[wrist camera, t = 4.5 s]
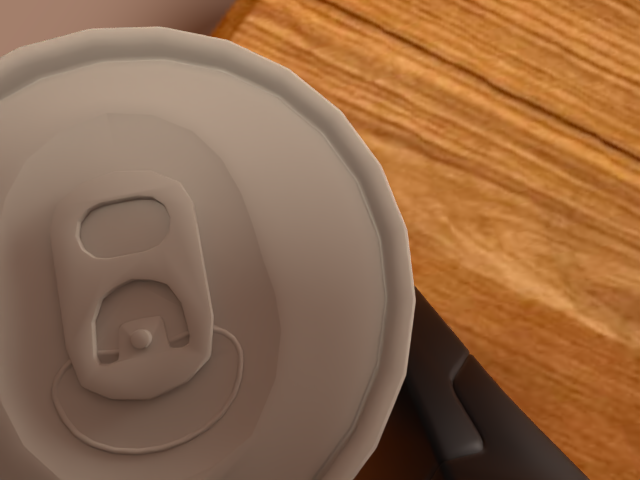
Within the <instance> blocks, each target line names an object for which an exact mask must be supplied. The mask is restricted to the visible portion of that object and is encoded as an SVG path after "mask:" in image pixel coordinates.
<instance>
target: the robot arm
mask: <svg viewBox="0 0 640 480" xmlns="http://www.w3.org/2000/svg"><path fill="white" fill-rule="evenodd" d="M414 290H415V298H416V303H415V311H414V318H413V326H412V334H411V342H410V349H409V357H408V365H407V373H406V377H405V379H404V381H403V384H402V386H401V389H400V391H399V394H398V396H397V399H396V401H395V404H394V406H393V409H392V411H391V413H390V416H389V418H388V421H387V423H386V426H385V428H384V431H383V433H382V436H381V438H380V441H379V443H378V445H377V448H376V449H375V451H374V452H373V453H372V455H371V456H370V457H369V459H368V460H367V461H366V463H365V464H364V465H363V467H362V468H361V470H360V471H359V472H358V474H357V475H356V476H355V478H354V479H353V480H590V479H589V478H588V477H587V476H586V475H585V474H584V473H583V472H582V471H581V470H580V469H579V468H578V467H577V466H576V465H575V464H574V463H573V462H572V461H571V460H570V459H569V458H568V457H567V456H566V455H565V454H564V453H563V452H562V451H561V450H560V449H559V448H558V447H557V446H556V445H555V444H554V443H553V442H552V441H551V440H550V439H549V438H548V437H547V436H546V435H545V434H544V433H543V432H542V431H541V430H540V429H539V428H538V427H537V426H536V425H535V424H534V423H533V422H532V421H531V420H530V419H529V418H528V417H527V416H526V414H525V413H524V412H523V411H522V410H521V409H520V408H519V407H518V406H517V405H516V404H515V403H514V402H513V401H512V400H511V399H510V398H509V397H508V396H507V394H506V393H505V392H504V391H503V390H502V389H501V388H500V387H499V386H498V384H497V383H496V382H495V381H494V380H493V379H492V377H491V376H490V375H489V374H488V373H487V372H486V371H485V369H484V368H483V367H482V366H481V365H480V363H479V362H478V361H477V360H476V359H475V357H474V356H473V355H471V354H469V350H468V349H467V348H466V347H465V346H464V344H463V343H462V342H461V341H460V340H459V338H458V337H457V336H456V335H455V334H454V332H453V331H452V330H451V329H450V328H449V326H448V325H447V324H446V323H445V322H444V320H443V319H442V318H441V317H440V316H439V314H438V313H437V312H436V311H435V310H434V308H433V307H432V306H431V305H430V304H429V302H428V301H427V300H426V299H425V298H424V296H423V295H422V294H421V293H420V292H419V290H418V289H417V288H416V287H415V286H414Z"/></svg>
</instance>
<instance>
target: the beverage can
mask: <svg viewBox="0 0 640 480" xmlns="http://www.w3.org/2000/svg"><path fill="white" fill-rule="evenodd" d="M415 303H416V298H415V290H414V281H413V273H412V265H411V257H410V249H409V241H408V233H407V228H406V226H405V223H404V221H403V218H402V216H401V213H400V211H399V208H398V206H397V203H396V201H395V198H394V196H393V193H392V191H391V188H390V186H389V183H388V181H387V178H386V176H385V173H384V171H383V168H382V166H381V164H380V163H379V162H378V160H377V159H376V158H375V156H374V155H373V154H372V152H371V151H370V149H369V148H368V147H367V145H366V144H365V143H364V141H363V140H362V139H361V137H360V136H359V135H358V133H357V132H356V130H355V129H354V128H353V126H352V125H351V124H350V122H349V121H348V120H347V118H346V117H345V115H344V114H343V113H342V111H340V110H339V109H338V108H337V107H335V106H334V105H333V104H332V103H331V102H329V101H328V100H327V99H326V98H324V97H323V96H322V95H321V94H319V93H318V92H317V91H316V90H314V89H313V88H312V87H311V86H310V85H308V84H307V83H306V82H305V81H303V80H302V79H301V78H300V77H298V76H297V75H296V74H295V73H293V72H292V71H291V70H290V69H288V68H286V67H284V66H282V65H280V64H278V63H275V62H273V61H271V60H269V59H267V58H265V57H263V56H261V55H258V54H256V53H254V52H252V51H250V50H248V49H246V48H244V47H241V46H239V45H237V44H235V43H233V42H231V41H229V40H225V39H220V38H215V37H210V36H205V35H200V34H195V33H190V32H185V31H180V30H175V29H170V28H164V27H129V28H95V29H87V30H83V31H79V32H75V33H72V34H68V35H64V36H60V37H56V38H53V39H49V40H45V41H41V42H38V43H34V44H30V45H26V46H22V47H19V48H17V49H15V50H13V51H11V52H9V53H8V54H6V55H4V56H2V57H0V480H353V479H354V478H355V476H356V475H357V474H358V472H359V471H360V470H361V468H362V467H363V465H364V464H365V463H366V461H367V460H368V459H369V457H370V456H371V455H372V453H373V452H374V451H375V449H376V448H377V445H378V443H379V441H380V438H381V436H382V433H383V431H384V428H385V426H386V423H387V421H388V418H389V416H390V413H391V411H392V409H393V406H394V404H395V401H396V399H397V396H398V394H399V391H400V389H401V386H402V384H403V381H404V379H405V377H406V373H407V365H408V357H409V349H410V342H411V334H412V326H413V318H414V311H415Z"/></svg>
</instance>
